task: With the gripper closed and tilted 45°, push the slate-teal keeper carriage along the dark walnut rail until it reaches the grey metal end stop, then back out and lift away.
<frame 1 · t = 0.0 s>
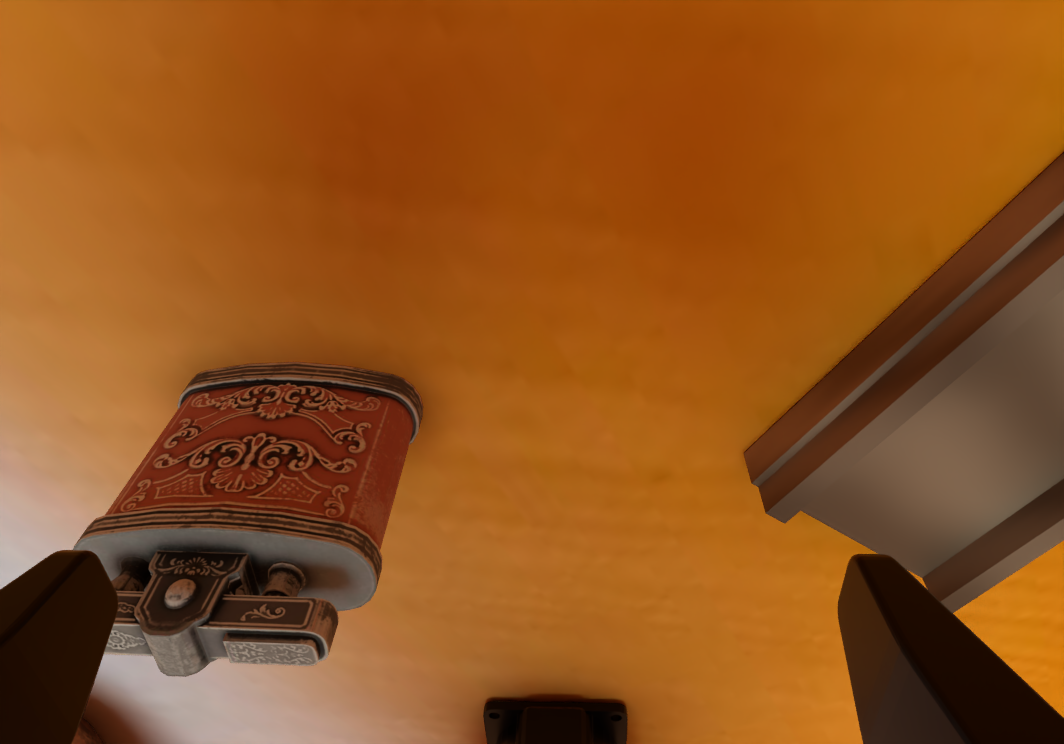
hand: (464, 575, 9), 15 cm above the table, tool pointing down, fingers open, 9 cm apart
jug: (3, 731, 40), on the table
lighter: (307, 399, 27), on the table
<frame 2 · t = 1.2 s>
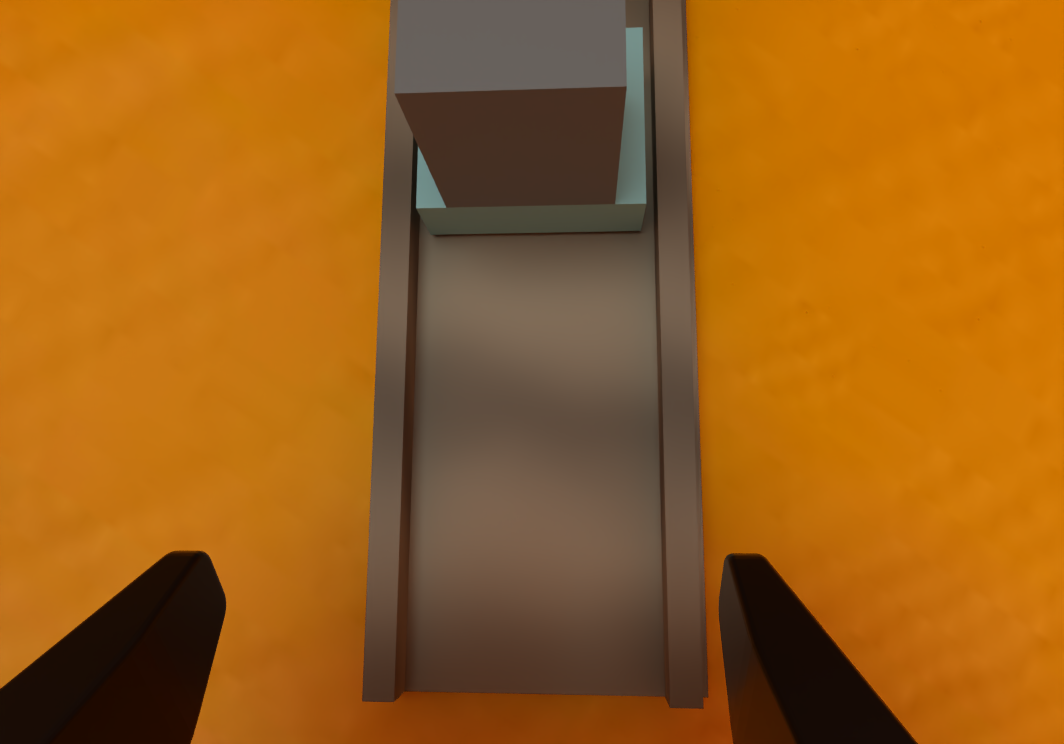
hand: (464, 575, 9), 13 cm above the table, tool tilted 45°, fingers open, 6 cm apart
rail: (538, 268, 24), on the table
keeper: (525, 78, 19), point 6 cm above the table, slide at 0.0 cm
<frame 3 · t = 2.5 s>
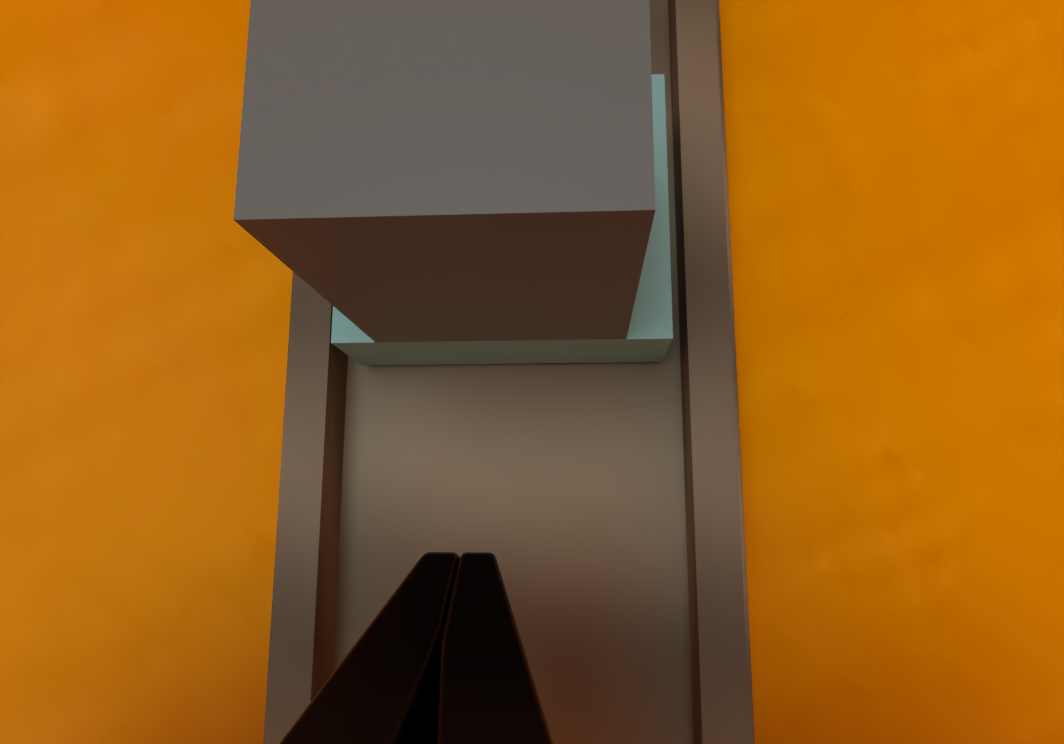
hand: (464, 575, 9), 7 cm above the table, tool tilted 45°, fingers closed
rail: (517, 402, 17), on the table
keeper: (488, 159, 12), point 6 cm above the table, slide at 0.0 cm
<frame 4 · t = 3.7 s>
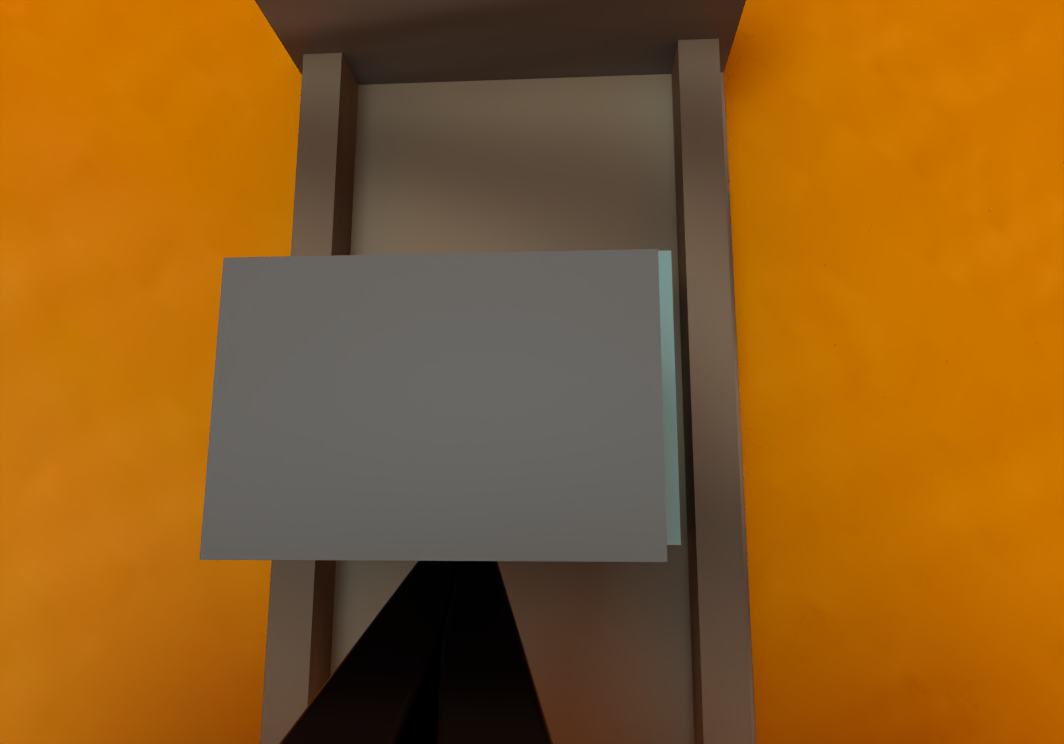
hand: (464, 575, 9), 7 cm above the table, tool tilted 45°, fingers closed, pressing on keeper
rail: (515, 614, 16), on the table
keeper: (484, 373, 12), point 6 cm above the table, slide at 1.0 cm, touching gripper
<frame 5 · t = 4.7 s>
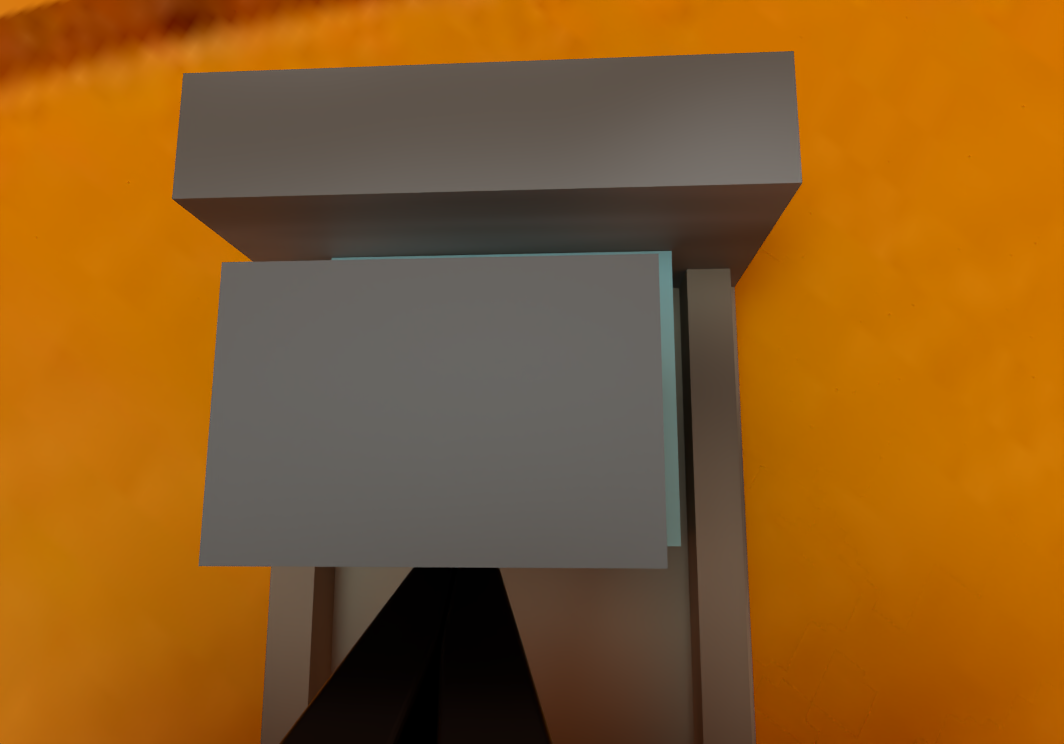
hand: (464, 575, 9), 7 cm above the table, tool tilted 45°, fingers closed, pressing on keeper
keeper: (484, 375, 12), point 6 cm above the table, slide at 5.8 cm, touching gripper
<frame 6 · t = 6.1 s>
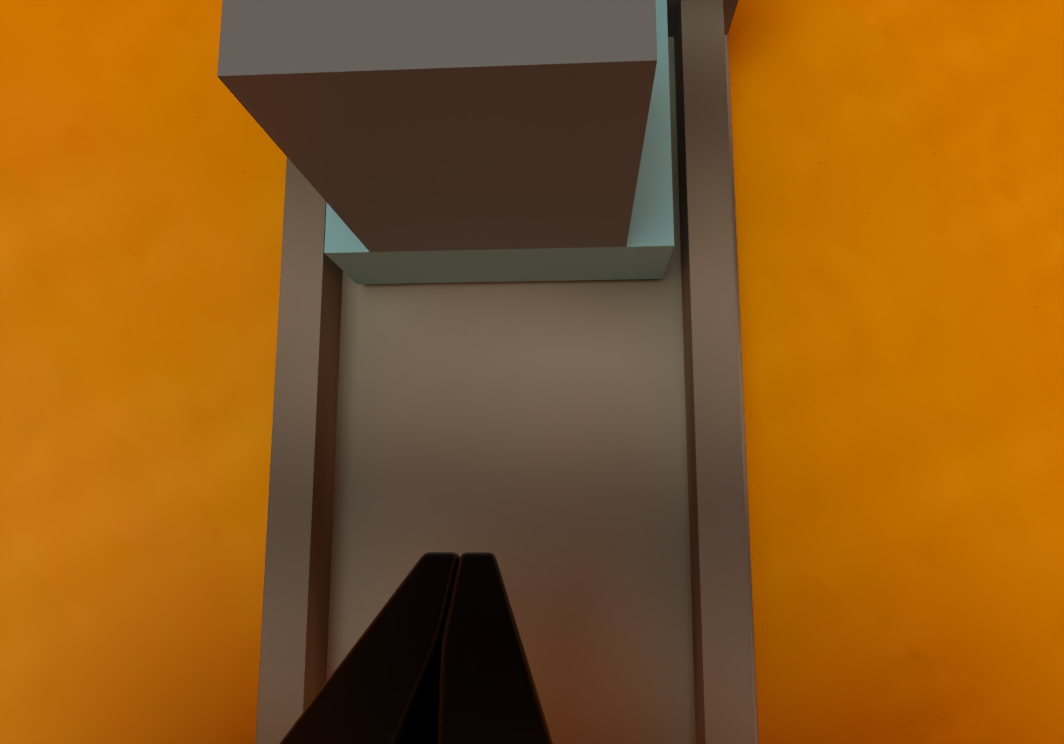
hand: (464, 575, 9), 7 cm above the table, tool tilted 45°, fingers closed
rail: (514, 589, 16), on the table
keeper: (484, 53, 12), point 6 cm above the table, slide at 5.5 cm
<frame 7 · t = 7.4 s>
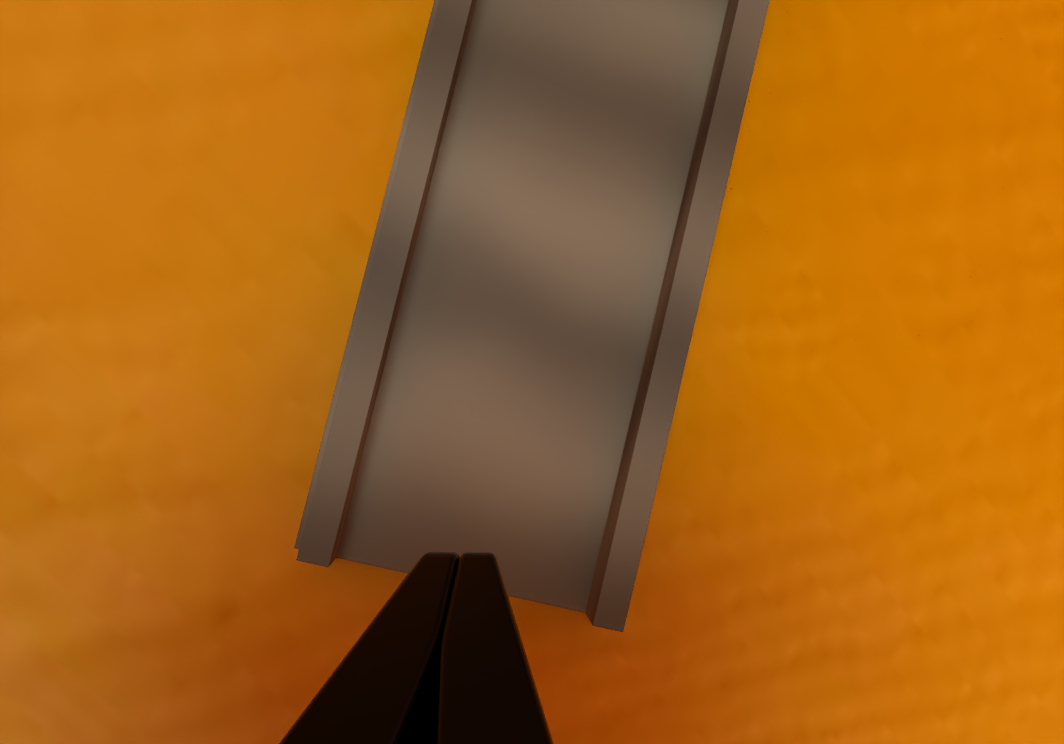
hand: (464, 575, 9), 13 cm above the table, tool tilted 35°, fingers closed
rail: (560, 170, 23), on the table
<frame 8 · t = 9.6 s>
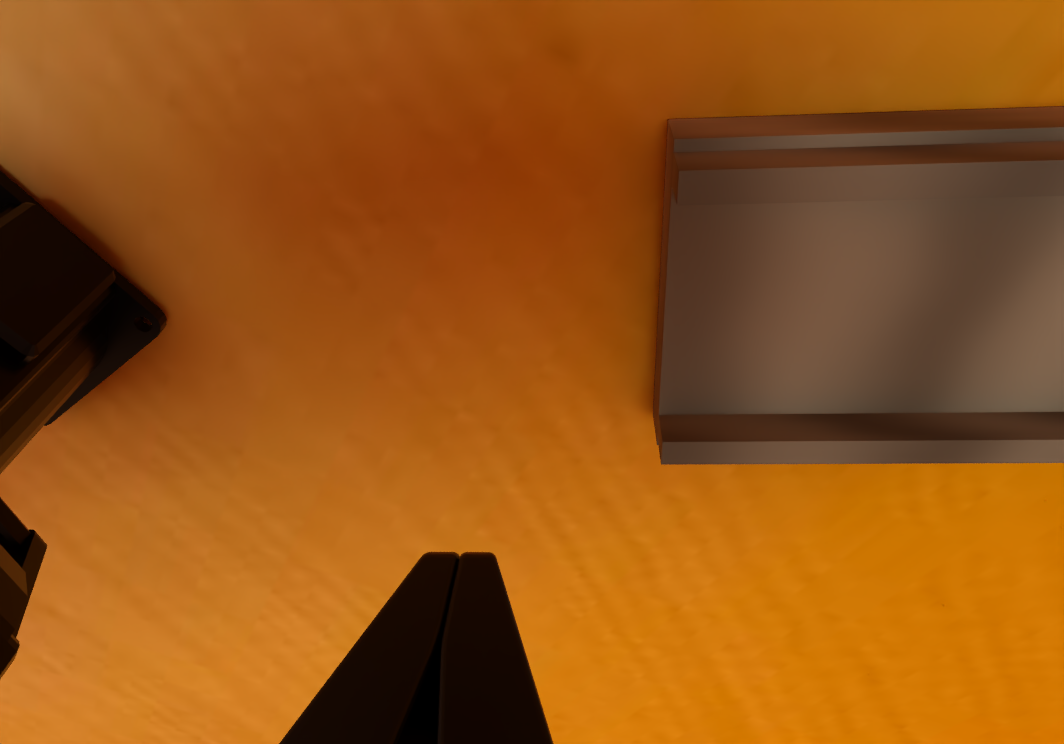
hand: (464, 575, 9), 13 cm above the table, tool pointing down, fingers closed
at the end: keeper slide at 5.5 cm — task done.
